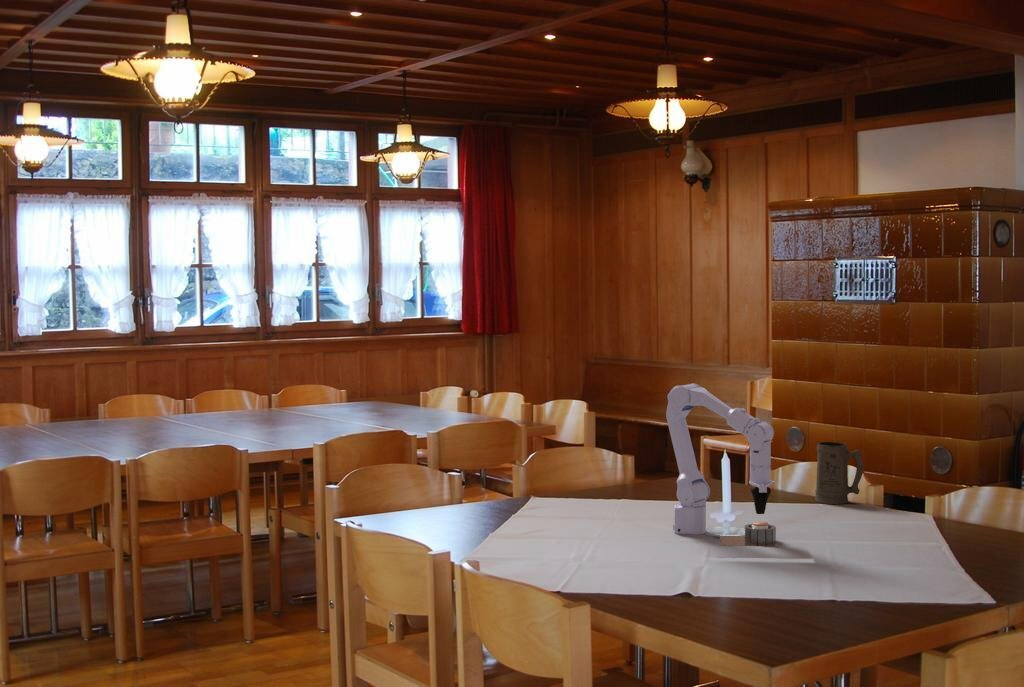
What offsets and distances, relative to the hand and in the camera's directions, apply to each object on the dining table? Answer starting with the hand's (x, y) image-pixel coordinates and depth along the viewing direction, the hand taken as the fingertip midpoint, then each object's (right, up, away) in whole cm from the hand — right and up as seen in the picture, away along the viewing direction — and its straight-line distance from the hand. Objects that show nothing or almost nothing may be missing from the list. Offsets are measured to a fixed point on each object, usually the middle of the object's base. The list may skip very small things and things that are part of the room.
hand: (760, 513), depth 327 cm
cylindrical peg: (0, -8, +1) cm, 8 cm away
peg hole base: (-3, -9, +1) cm, 9 cm away
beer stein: (+39, -5, +62) cm, 73 cm away
